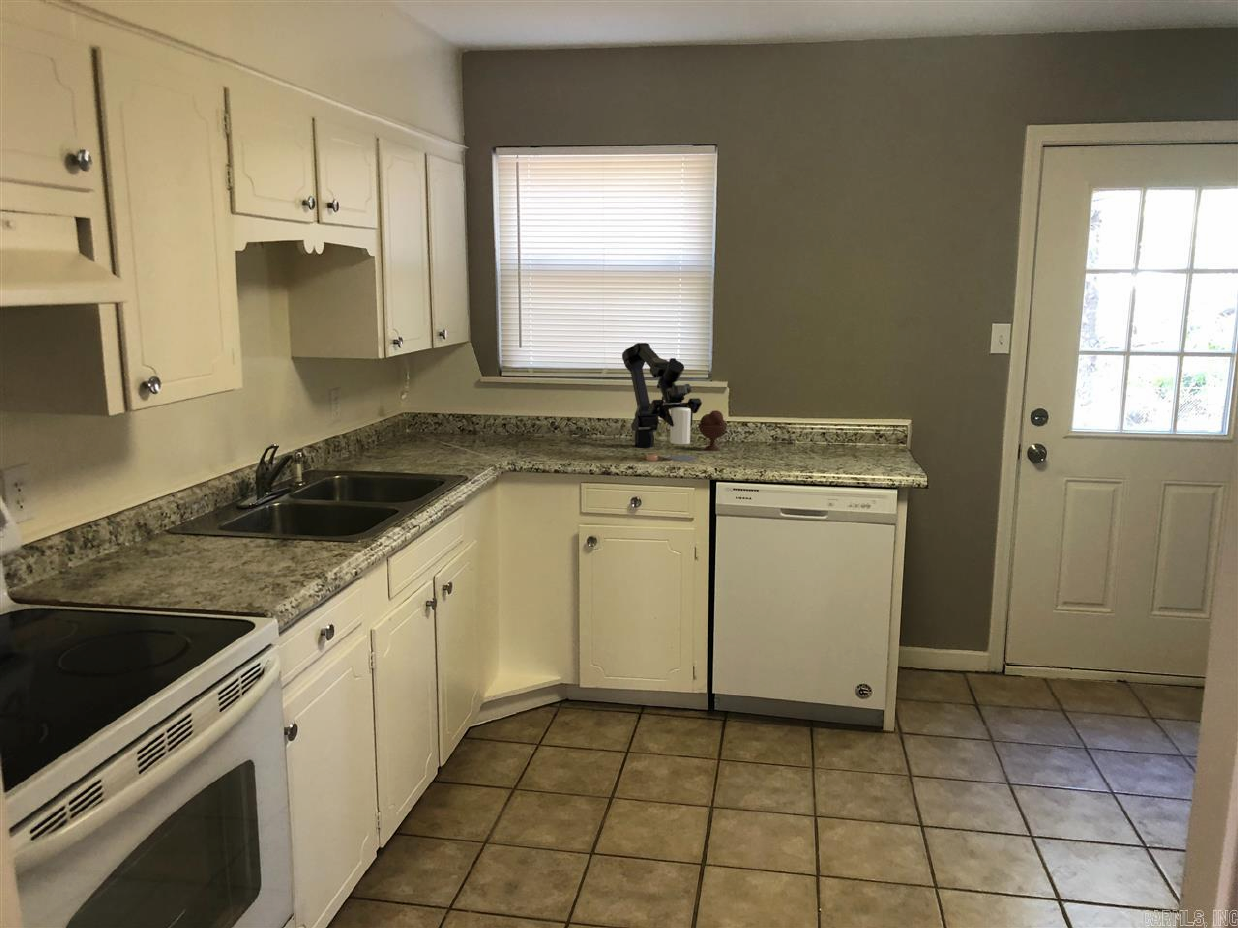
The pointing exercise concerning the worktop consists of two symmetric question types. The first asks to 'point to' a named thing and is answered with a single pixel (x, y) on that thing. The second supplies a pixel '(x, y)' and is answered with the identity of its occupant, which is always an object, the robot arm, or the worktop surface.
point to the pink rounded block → (652, 457)
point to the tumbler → (680, 425)
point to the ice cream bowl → (712, 428)
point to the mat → (682, 458)
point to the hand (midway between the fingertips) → (682, 425)
